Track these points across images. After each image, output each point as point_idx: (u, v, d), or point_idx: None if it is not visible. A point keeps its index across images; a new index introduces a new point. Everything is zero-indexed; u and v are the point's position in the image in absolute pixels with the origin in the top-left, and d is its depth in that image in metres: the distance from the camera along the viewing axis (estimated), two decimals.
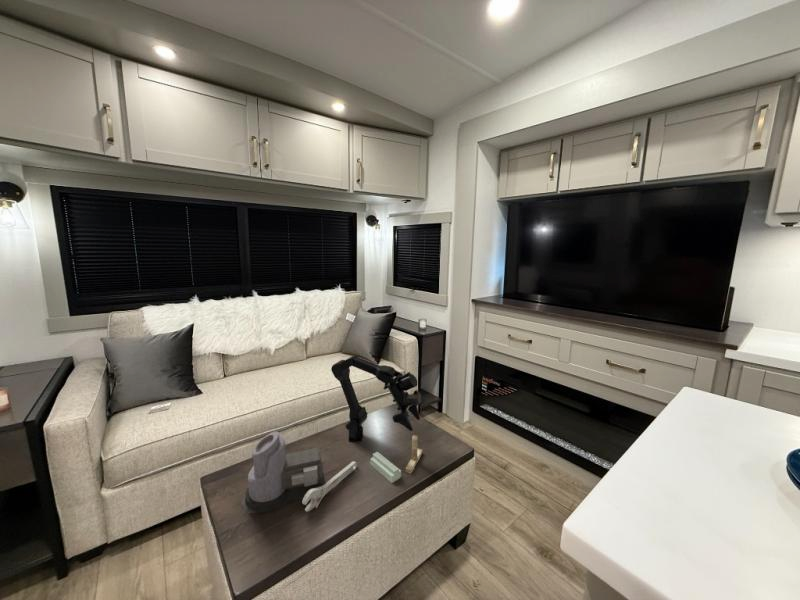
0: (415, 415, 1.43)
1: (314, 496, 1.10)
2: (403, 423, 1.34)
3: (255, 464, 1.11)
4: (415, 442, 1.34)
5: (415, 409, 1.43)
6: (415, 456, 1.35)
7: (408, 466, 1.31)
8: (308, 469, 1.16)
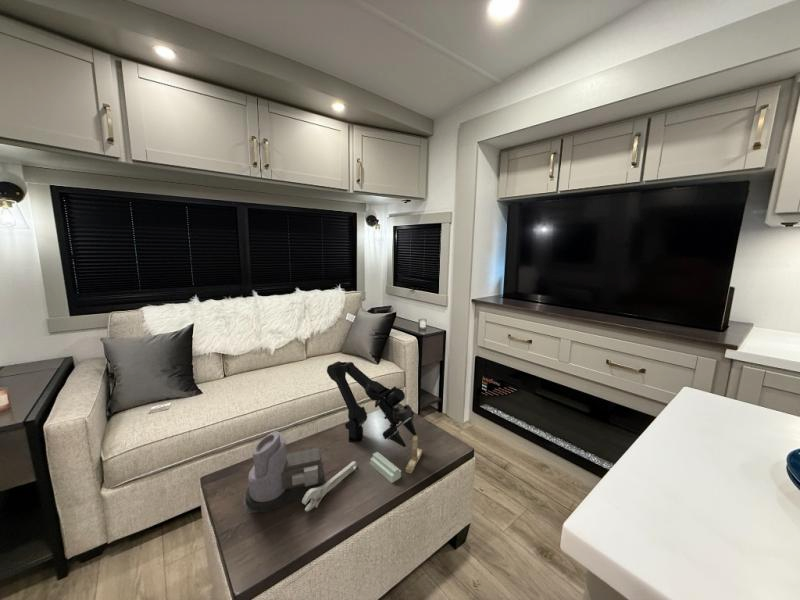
0: (411, 431, 1.41)
1: (314, 496, 1.11)
2: (395, 439, 1.33)
3: (256, 464, 1.11)
4: (415, 442, 1.34)
5: (410, 425, 1.41)
6: (415, 456, 1.35)
7: (408, 466, 1.31)
8: (308, 469, 1.16)
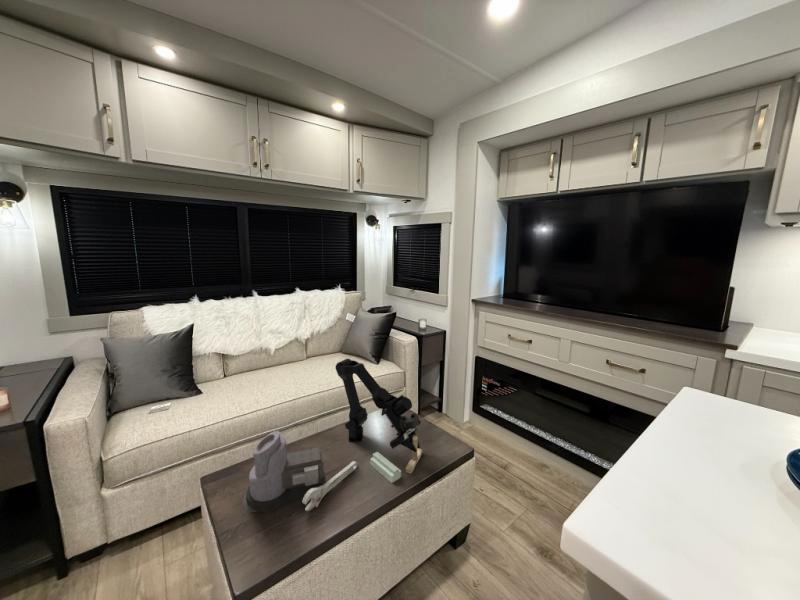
0: None
1: (314, 496, 1.11)
2: (406, 444, 1.34)
3: (256, 463, 1.11)
4: (415, 442, 1.34)
5: None
6: (415, 456, 1.35)
7: (408, 466, 1.31)
8: (309, 469, 1.16)
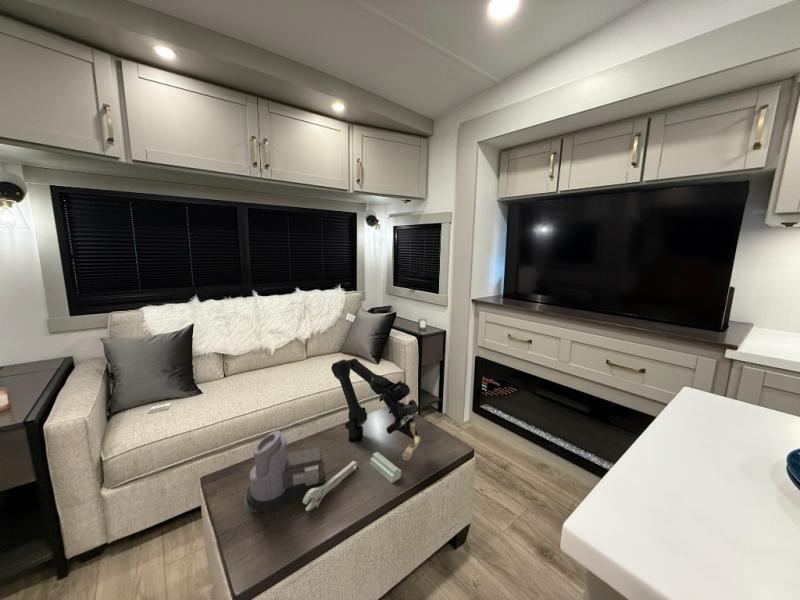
0: None
1: (314, 496, 1.11)
2: (403, 431, 1.32)
3: (257, 463, 1.11)
4: (412, 428, 1.32)
5: None
6: (412, 443, 1.33)
7: (405, 452, 1.29)
8: (309, 468, 1.16)
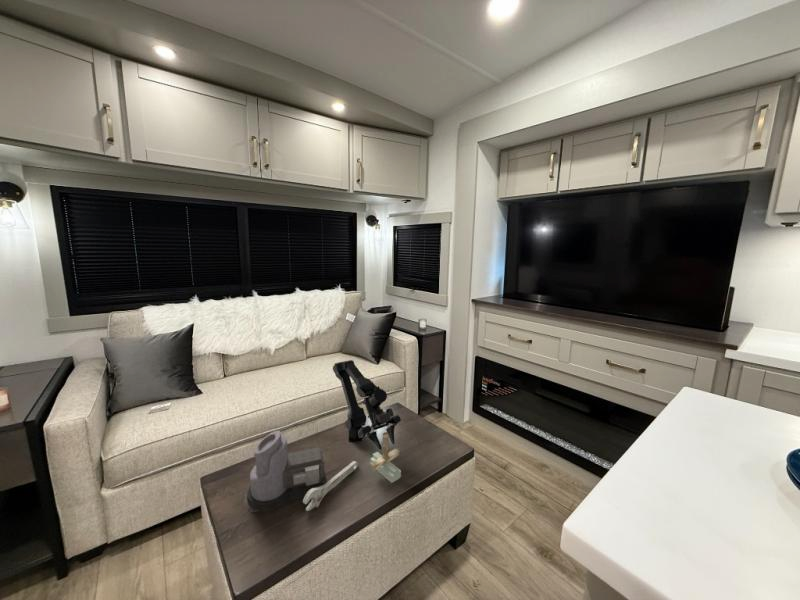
0: (390, 438, 1.31)
1: (315, 495, 1.11)
2: (372, 439, 1.28)
3: (257, 463, 1.11)
4: (384, 440, 1.27)
5: (390, 431, 1.31)
6: (385, 454, 1.29)
7: (373, 462, 1.27)
8: (310, 468, 1.16)
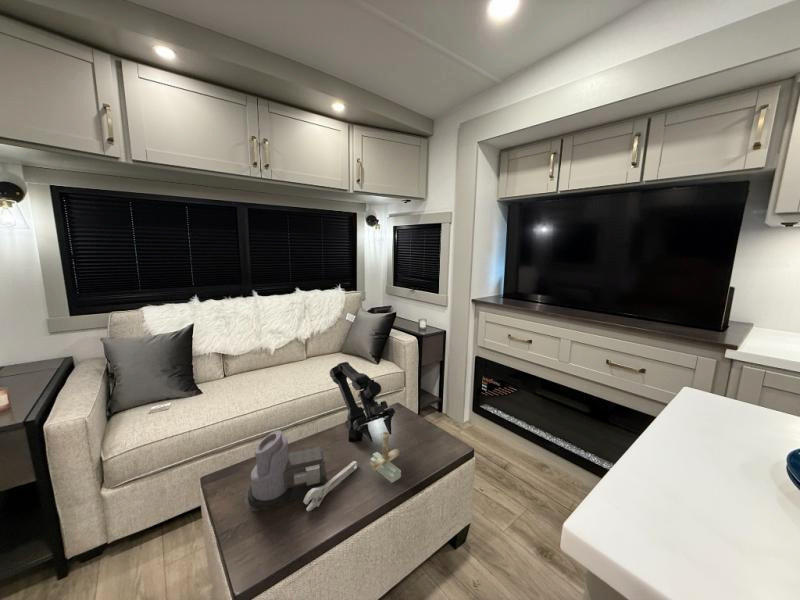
0: (388, 429, 1.35)
1: (315, 496, 1.11)
2: (364, 432, 1.31)
3: (258, 463, 1.12)
4: (384, 440, 1.27)
5: (387, 422, 1.36)
6: (385, 454, 1.29)
7: (373, 462, 1.27)
8: (310, 468, 1.16)
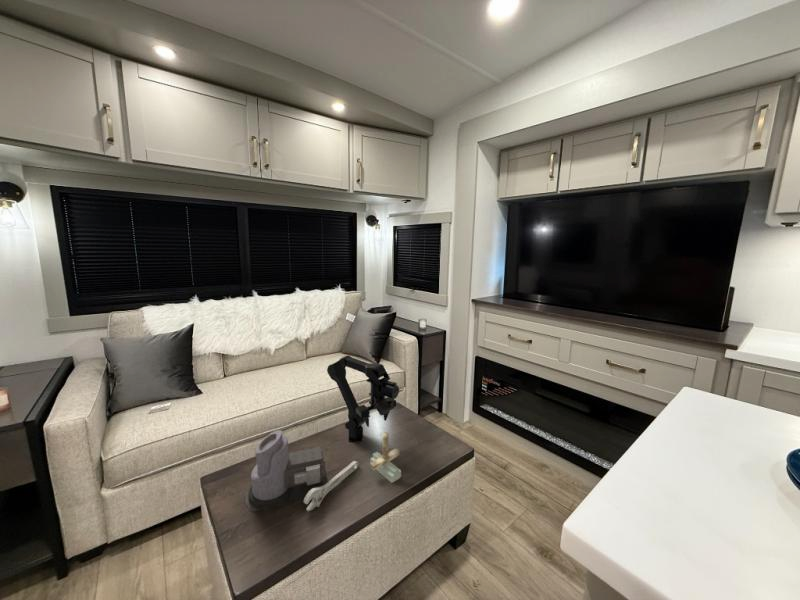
0: (384, 415, 1.47)
1: (315, 495, 1.11)
2: None
3: (258, 462, 1.12)
4: (384, 440, 1.27)
5: None
6: (385, 454, 1.29)
7: (373, 462, 1.27)
8: (311, 468, 1.16)
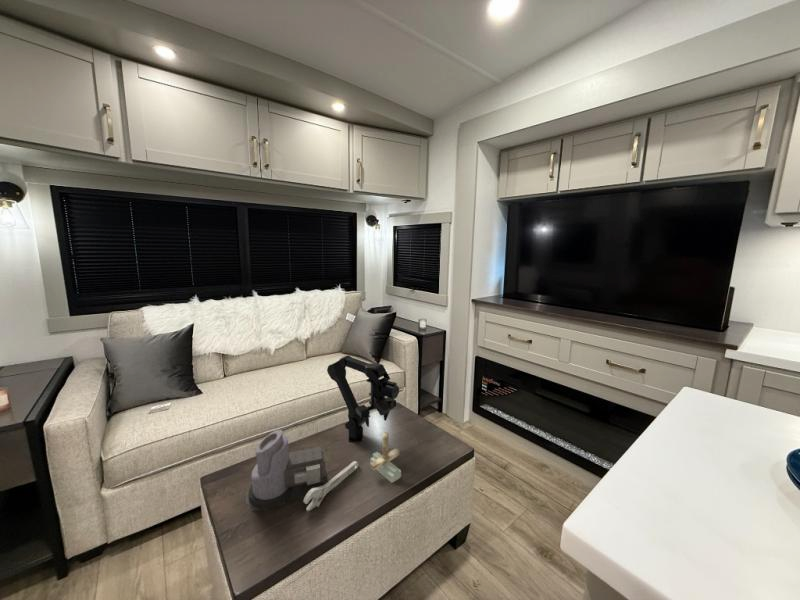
0: (384, 415, 1.47)
1: (315, 495, 1.11)
2: None
3: (258, 462, 1.12)
4: (384, 440, 1.27)
5: None
6: (385, 454, 1.29)
7: (373, 462, 1.27)
8: (311, 468, 1.16)
